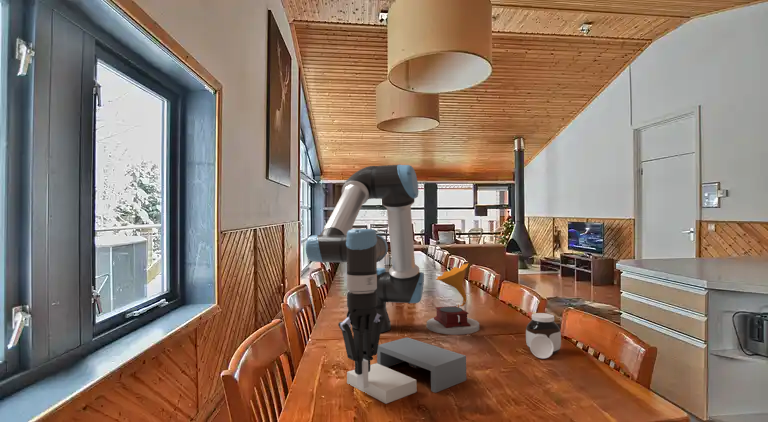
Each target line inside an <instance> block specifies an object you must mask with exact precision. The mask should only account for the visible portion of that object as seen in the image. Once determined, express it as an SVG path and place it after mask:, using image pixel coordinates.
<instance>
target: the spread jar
mask: <svg viewBox="0 0 768 422" xmlns="http://www.w3.org/2000/svg"><path fill="white" fill-rule="evenodd" d="M525 341H526V343H525V344H526V345H527V347H528V349H529V350H530V353H532V355H534V356H535V357H536V358H538V359H543V360H544V359H548V358H550V357H551V356H552V355H553V356H554V355H555V354H557V353H558V352H559V351H560V349H561V346H562V333H561V329H560V327H559V326H558V324H557V323H556V322H555V315H554V314H551V313H546V312H545V313H544V312H536V313H532V314H531V320H530V321H529V322H528V323H527V325H526V328H525Z"/></svg>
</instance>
